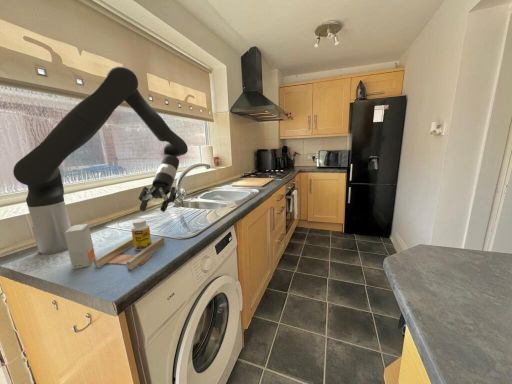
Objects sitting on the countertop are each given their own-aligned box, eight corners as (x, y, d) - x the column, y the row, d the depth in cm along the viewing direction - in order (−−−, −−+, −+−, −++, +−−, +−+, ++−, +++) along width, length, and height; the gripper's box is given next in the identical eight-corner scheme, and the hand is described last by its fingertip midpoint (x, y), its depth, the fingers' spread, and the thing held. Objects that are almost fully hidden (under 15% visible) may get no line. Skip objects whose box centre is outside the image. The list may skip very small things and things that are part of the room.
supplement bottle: (135, 252, 71) (130, 224, 69) (134, 246, 76) (129, 220, 73) (153, 248, 74) (149, 221, 72) (151, 242, 79) (147, 217, 76)
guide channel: (91, 267, 63) (89, 260, 62) (131, 242, 79) (130, 236, 79) (135, 270, 61) (134, 262, 60) (168, 243, 77) (167, 237, 77)
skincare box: (89, 266, 64) (81, 229, 61) (72, 269, 62) (63, 232, 60) (96, 257, 69) (88, 223, 67) (80, 260, 68) (72, 225, 65)
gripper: (145, 171, 86) (129, 206, 78) (176, 171, 84) (164, 206, 76) (154, 182, 93) (141, 214, 84) (184, 181, 90) (173, 215, 82)
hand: (152, 210), depth 80 cm, fingers open, 8 cm apart
